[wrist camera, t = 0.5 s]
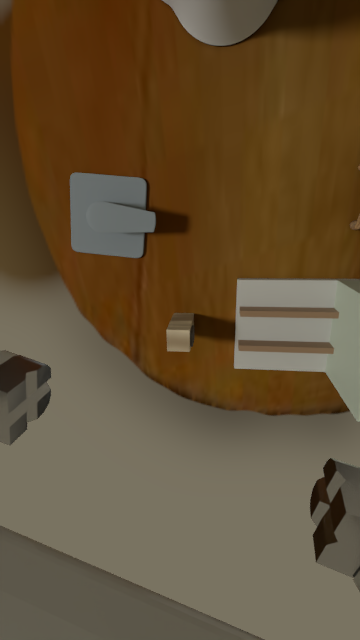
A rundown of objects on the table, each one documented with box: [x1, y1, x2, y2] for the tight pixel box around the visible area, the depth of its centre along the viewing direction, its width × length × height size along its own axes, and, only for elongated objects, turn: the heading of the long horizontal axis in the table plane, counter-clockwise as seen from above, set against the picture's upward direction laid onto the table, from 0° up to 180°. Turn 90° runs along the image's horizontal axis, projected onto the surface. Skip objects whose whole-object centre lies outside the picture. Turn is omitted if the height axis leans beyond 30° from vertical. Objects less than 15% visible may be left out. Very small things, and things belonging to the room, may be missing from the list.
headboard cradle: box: [234, 278, 360, 422], centre depth 48 cm, size 16×20×15 cm
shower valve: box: [70, 173, 156, 258], centre depth 51 cm, size 12×6×15 cm
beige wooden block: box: [167, 313, 194, 352], centre depth 54 cm, size 4×4×8 cm
